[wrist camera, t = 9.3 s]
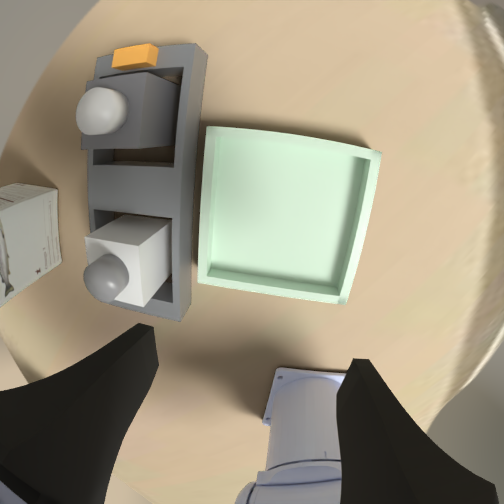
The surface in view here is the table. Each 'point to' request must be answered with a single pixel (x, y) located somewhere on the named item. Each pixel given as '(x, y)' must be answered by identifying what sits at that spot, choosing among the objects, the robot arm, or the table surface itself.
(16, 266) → the supplement box
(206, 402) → the table surface
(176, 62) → the power strip
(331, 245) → the tray
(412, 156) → the table surface
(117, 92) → the plug
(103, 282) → the twin plug
